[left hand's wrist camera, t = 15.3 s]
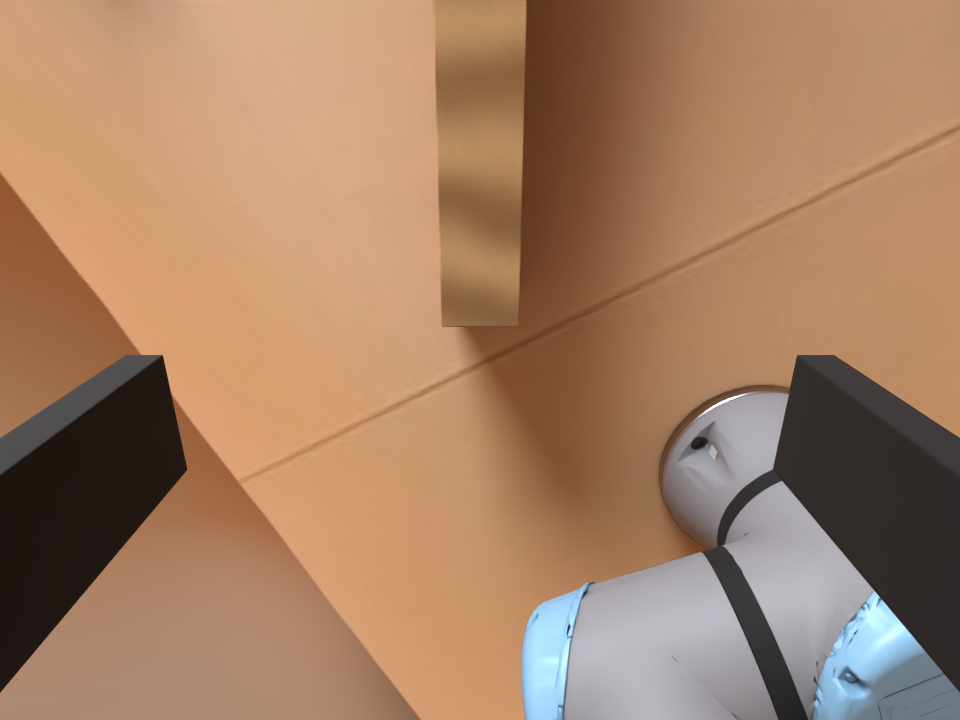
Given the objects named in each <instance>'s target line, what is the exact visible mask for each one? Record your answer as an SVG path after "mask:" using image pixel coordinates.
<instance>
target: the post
mask: <svg viewBox="0 0 960 720" xmlns="http://www.w3.org/2000/svg"><path fill="white" fill-rule="evenodd" d="M433 6H434V44H435V83H436V122H437V160H438V199H439V238H440V277H441V315H442V326H443V327H518V326H519V304H520V264H521V225H522V186H523V146H524V107H525V67H526V28H527V0H433Z"/></svg>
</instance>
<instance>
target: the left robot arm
mask: <svg viewBox="0 0 960 720" xmlns="http://www.w3.org/2000/svg"><path fill="white" fill-rule="evenodd" d="M186 471H187V466H186V461H185V456H184V452H183V447H182V442H181V438H180V433H179V429H178V424H177V419H176V414H175V410H174V405H173V401H172V396H171V391H170V387H169V382H168V377H167V373H166V368H165V363H164V359H163V355H125V356H124V357H122V358H121V359H119V360H118V361H116V362H115V363H113V364H112V365H110V366H109V367H107V368H106V369H104V370H103V371H101V372H100V373H98V374H97V375H95V376H94V377H92V378H91V379H89V380H88V381H86V382H85V383H83V384H82V385H80V386H79V387H77V388H75V389H74V390H72V391H71V392H69V393H68V394H66V395H65V396H63V397H62V398H60V399H59V400H57V401H56V402H54V403H53V404H51V405H50V406H48V407H47V408H45V409H44V410H42V411H41V412H39V413H38V414H36V415H35V416H33V417H32V418H30V419H29V420H27V421H26V422H24V423H23V424H21V425H20V426H18V427H16V428H15V429H14V430H12V431H10V432H9V433H7V434H6V435H4V436H3V437H1V438H0V692H1V691H2V690H3V689H4V687H5V686H6V685H7V684H8V683H9V682H10V680H11V679H12V678H13V677H14V676H15V674H16V673H17V672H18V671H19V670H20V668H21V667H22V666H23V665H24V664H25V662H26V661H27V660H28V659H29V658H30V657H31V655H32V654H33V653H34V652H35V651H36V649H37V648H38V647H39V646H40V645H41V643H42V642H43V641H44V640H45V639H46V637H47V636H48V635H49V634H50V633H51V631H52V630H53V629H54V628H55V627H56V626H57V624H58V623H59V622H60V621H61V620H62V618H63V617H64V616H65V615H66V614H67V612H68V611H69V610H70V609H71V608H72V606H73V605H74V604H75V603H76V602H77V601H78V599H79V598H80V597H81V596H82V595H83V593H84V592H85V591H86V590H87V589H88V587H89V586H90V585H91V584H92V583H93V581H94V580H95V579H96V578H97V577H98V575H99V574H100V573H101V572H102V571H103V570H104V568H105V567H106V566H107V565H108V564H109V562H110V561H111V560H112V559H113V558H114V556H115V555H116V554H117V553H118V552H119V550H120V549H121V548H122V547H123V546H124V545H125V543H126V542H127V541H128V540H129V539H130V537H131V536H132V535H133V534H134V533H135V531H136V530H137V529H138V528H139V527H140V525H141V524H142V523H143V522H144V521H145V520H146V518H147V517H148V516H149V515H150V514H151V512H152V511H153V510H154V509H155V508H156V506H157V505H158V504H159V503H160V502H161V500H162V499H163V498H164V497H165V496H166V495H167V493H168V492H169V491H170V490H171V489H172V487H173V486H174V485H175V484H176V483H177V481H178V480H179V479H180V478H181V477H182V475H183V474H184V473H185V472H186ZM659 484H660V490H661V493H662V496H663V499H664V501H665V503H666V505H667V507H668V509H669V511H670V513H671V515H672V517H673V518H674V520H675V521H676V522H677V523H678V525H679V526H680V527H681V528H682V529H683V531H684V532H685V533H686V534H688V535H689V536H690V537H691V538H692V539H694V540H695V541H697V542H698V543H699V544H700V545H701V546H702V547H704V548H705V549H706V550H707V551H703V552H698V553H695V554H692V555H688V556H685V557H682V558H679V559H675V560H672V561H669V562H665V563H662V564H659V565H656V566H652V567H649V568H646V569H643V570H639V571H636V572H633V573H629V574H626V575H623V576H619V577H616V578H612V579H609V580H605V581H602V582H598V583H594V582H589V583H586V584H584V585H583V586H582V587H581V588H579V589H577V590H574V591H572V592H569V593H566V594H564V595H561V596H558V597H556V598H553V599H550V600H547V601H545V602H543V603H542V604H540V605H539V606H538V607H537V608H536V609H535V610H534V612H533V613H532V615H531V616H530V619H529V621H528V623H527V627H526V632H525V634H524V639H523V648H522V691H523V703H524V712H525V720H960V438H959V437H957V436H956V435H954V434H953V433H951V432H950V431H948V430H947V429H945V428H944V427H942V426H940V425H939V424H937V423H936V422H934V421H933V420H931V419H930V418H928V417H927V416H925V415H924V414H922V413H921V412H919V411H918V410H916V409H915V408H913V407H912V406H910V405H909V404H907V403H906V402H904V401H903V400H901V399H900V398H898V397H897V396H895V395H894V394H892V393H891V392H889V391H888V390H886V389H885V388H883V387H881V386H880V385H878V384H877V383H875V382H874V381H872V380H871V379H869V378H868V377H866V376H865V375H863V374H862V373H860V372H859V371H857V370H856V369H854V368H853V367H851V366H850V365H848V364H847V363H845V362H844V361H842V360H841V359H839V358H838V357H836V356H835V355H797V359H796V363H795V368H794V373H793V377H792V382H791V387H790V388H787V387H782V386H774V385H755V386H748V387H742V388H738V389H734V390H731V391H728V392H725V393H723V394H720V395H718V396H716V397H714V398H712V399H710V400H708V401H707V402H705V403H703V404H702V405H700V406H699V407H697V408H696V409H695V410H693V411H692V412H691V413H690V414H689V415H688V416H687V417H686V418H685V419H684V420H683V421H682V422H681V423H680V424H679V425H678V426H677V428H676V429H675V430H674V432H673V433H672V435H671V436H670V438H669V440H668V442H667V444H666V446H665V448H664V451H663V453H662V457H661V460H660V466H659Z"/></svg>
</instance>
